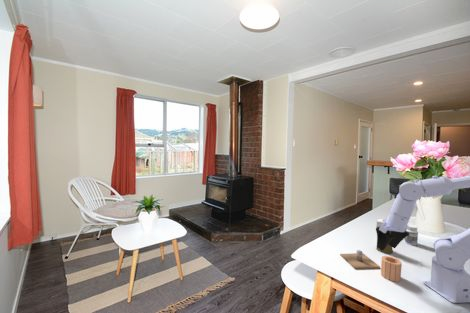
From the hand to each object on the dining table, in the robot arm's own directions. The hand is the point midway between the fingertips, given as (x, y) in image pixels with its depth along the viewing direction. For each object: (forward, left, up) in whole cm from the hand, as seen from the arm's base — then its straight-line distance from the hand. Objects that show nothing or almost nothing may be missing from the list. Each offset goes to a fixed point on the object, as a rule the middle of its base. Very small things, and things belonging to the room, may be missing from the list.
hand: (385, 247), depth 79 cm
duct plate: (+7, +5, -9) cm, 13 cm away
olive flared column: (+15, -12, -9) cm, 21 cm away
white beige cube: (+34, -27, -9) cm, 44 cm away
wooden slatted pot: (-3, 0, -9) cm, 10 cm away
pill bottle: (+21, -30, -9) cm, 38 cm away
